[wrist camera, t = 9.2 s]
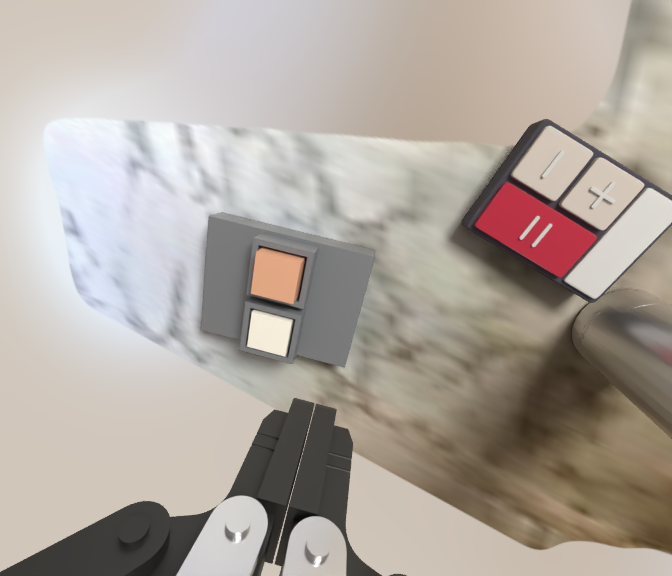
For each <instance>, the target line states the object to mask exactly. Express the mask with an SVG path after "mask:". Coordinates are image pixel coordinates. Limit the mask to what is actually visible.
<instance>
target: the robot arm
mask: <svg viewBox="0 0 672 576" xmlns="http://www.w3.org/2000/svg"><path fill="white" fill-rule="evenodd" d="M572 341H573V344H574V346H575V348H576V349H577V351H578V352H579V353H580V354H581V355H582V356H583V357H584V358H585V359H586V360H587V361H588V362H589V363H590V364H591V365H593V366H594V367H595V368H596V369H597V370H598V371H599V372H600V373H601V374H602V375H603V376H604V377H605V378H606V379H607V380H609V381H610V382H611V383H612V384H613V385H614V386H615V387H616V388H617V389H618V390H619V391H620V392H622V393H623V394H624V395H625V396H626V397H627V398H628V399H629V400H630V401H631V402H632V403H633V404H634V405H636V406H637V407H638V408H639V409H640V410H641V411H642V412H643V413H644V414H645V415H646V416H647V417H649V418H650V419H651V420H652V421H653V422H654V423H655V424H656V425H657V426H658V427H659V428H660V429H662V430H663V431H664V432H665V433H666V434H667V435H668V436H669V437H670V438H671V439H672V304H670V303H668V302H666V301H664V300H662V299H659V298H657V297H655V296H653V295H651V294H649V293H647V292H643V291H639V290H619V291H614V292H611V293H607V294H605V295H603V296H601V297H600V298H599V299H598V300H597V301H596V302H594V303H589V304H588V305H587V306H586V307H585V308H584V309H583V310H582V311H581V312H580V314H579V315H578V316H577V318H576V320H575V322H574V325H573V329H572ZM313 407H314V403H312V402H308V401H304V400H300V399H297V398H294V399H293V402H292V404H291V407H290V410H289V413H286V412H282V411H278V410H274V411H272V412H271V413H270V414H269V415H268V416H267V417H266V418H264V419H263V421H262V423H261V426H260V428H259V430H258V432H257V435H256V436H255V439H254V441H253V443H252V446H251V447H250V450H249V452H248V454H247V456H246V458H245V460H244V462H243V465H242V467H241V469H240V471H239V473H238V475H237V478H236V480H235V482H234V484H233V486H232V488H231V490H230V492H229V494H228V495H227V497H226V498H225V499H224V500H223V501H222V502H221V503H220V504H219V505H218V506H217V507H215V508H213V509H212V510H210V511H207V512H205V513H202V514H198V515H189V516H176V517H170V516H169V513H168V512H167V510H166V509H165V508H164V507H163V506H162V505H160V504H158V503H155V502H151V501H143V502H137V503H134V504H131V505H129V506H127V507H124V508H123V509H120V510H119V511H117V512H115V513H113V514H111V515H109V516H107V517H105V518H103V519H101V520H99V521H97V522H96V523H94V524H92V525H90V526H88V527H86V528H84V529H82V530H80V531H78V532H76V533H74V534H73V535H71V536H69V537H67V538H65V539H63V540H61V541H59V542H57V543H55V544H53V545H51V546H50V547H48V548H46V549H44V550H42V551H40V552H38V553H36V554H34V555H32V556H30V557H28V558H27V559H24V560H23V561H21V562H19V563H17V564H15V565H13V566H11V567H9V568H7V569H5V570H3V571H1V572H0V576H261V572H262V569H263V566H264V562H268V563H273V559H274V555H275V551H276V548H277V544H278V540H279V537H280V533H281V529H282V526H283V522H284V518H285V514H286V511H287V507H288V504H289V500H290V496H291V492H292V489H293V485H294V481H295V478H296V474H297V470H298V467H299V470H298V474H297V478H296V481H295V485H294V489H293V492H292V496H291V500H290V504H289V507H288V511H287V516H286V520H285V524H284V528H283V532H282V536H281V541H280V544H279V549H278V553H277V557H276V561H275V564H276V565H279V566H282V567H281V571H280V575H279V576H382V575H380V574H379V573H377V572H376V571H375V570H373V569H372V568H370V567H369V566H367V565H366V564H365V563H364V562H363V561H362V560H361V559H359V557H358V556H357V555H356V554H355V553H354V551H353V549H352V547H351V546H350V543H349V541H348V538H347V534H346V512H347V501H348V491H349V479H350V470H351V458H352V449H353V442H352V439H351V436H350V433H349V430H348V429H346V428H342V427H338V426H334V421H335V416H336V409H334V408H331V407H327V406H323V405H319V404H316V406H315V410H314V414H313V418H312V421H311V425H310V429H309V433H308V436H307V432H308V428H309V424H310V420H311V416H312V412H313ZM306 436H307V440H306ZM305 440H306V444H305ZM304 444H305V447H304ZM303 448H304V451H303ZM302 452H303V455H302ZM301 455H302V459H301ZM300 459H301V462H300ZM299 463H300V466H299ZM390 576H406V575H402V574H393V575H390Z"/></svg>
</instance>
